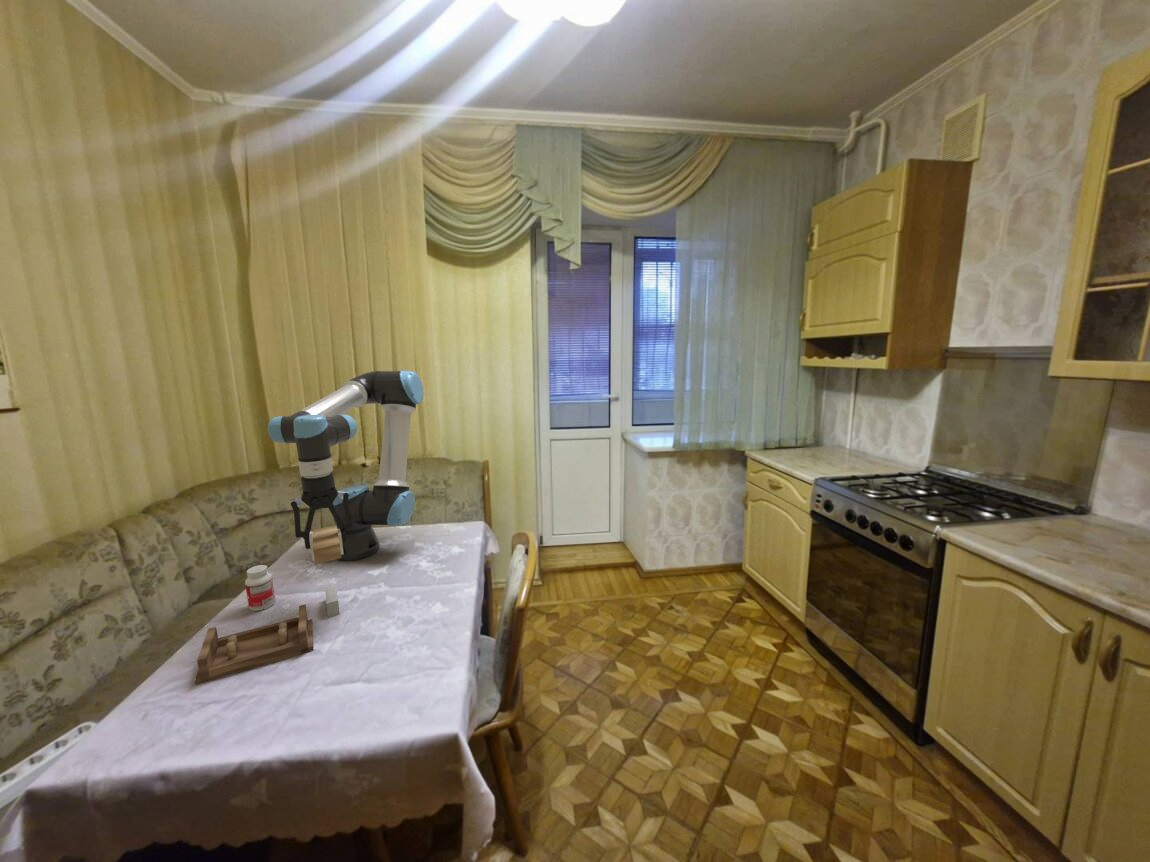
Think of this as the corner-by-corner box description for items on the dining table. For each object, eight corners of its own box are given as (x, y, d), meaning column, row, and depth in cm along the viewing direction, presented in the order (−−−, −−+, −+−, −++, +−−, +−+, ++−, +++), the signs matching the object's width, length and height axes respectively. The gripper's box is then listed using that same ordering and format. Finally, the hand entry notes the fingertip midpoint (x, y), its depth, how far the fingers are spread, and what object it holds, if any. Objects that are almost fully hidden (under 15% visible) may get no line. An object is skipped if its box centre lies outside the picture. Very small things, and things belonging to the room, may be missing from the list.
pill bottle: (254, 601, 130) (249, 565, 128) (278, 598, 131) (273, 562, 129) (245, 613, 124) (239, 575, 122) (270, 610, 125) (265, 572, 123)
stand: (326, 599, 130) (324, 586, 129) (337, 596, 132) (336, 584, 131) (328, 617, 122) (326, 603, 121) (339, 614, 123) (338, 600, 122)
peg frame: (206, 650, 109) (202, 630, 108) (312, 622, 120) (310, 603, 119) (195, 685, 98) (191, 662, 97) (313, 650, 108) (310, 629, 107)
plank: (314, 543, 128) (312, 529, 128) (338, 538, 131) (336, 525, 131) (315, 563, 117) (313, 549, 116) (341, 557, 120) (339, 543, 119)
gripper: (273, 484, 112) (286, 570, 117) (358, 472, 121) (367, 552, 126) (274, 476, 118) (287, 558, 123) (355, 465, 127) (364, 542, 132)
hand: (328, 555), depth 124 cm, fingers closed on plank, 6 cm apart
